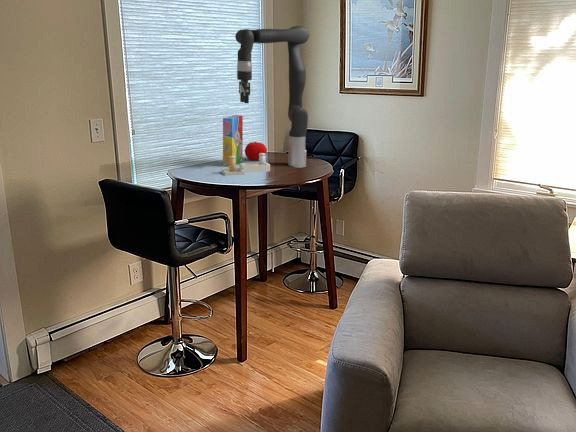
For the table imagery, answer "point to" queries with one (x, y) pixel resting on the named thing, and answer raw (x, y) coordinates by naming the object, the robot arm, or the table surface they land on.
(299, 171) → the table surface
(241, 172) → the parts tray
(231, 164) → the fuse
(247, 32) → the robot arm
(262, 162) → the cylinder
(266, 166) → the fuse block
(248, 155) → the tomato
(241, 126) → the game box
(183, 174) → the table surface
